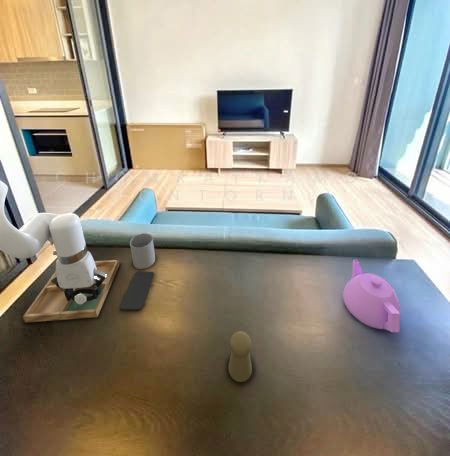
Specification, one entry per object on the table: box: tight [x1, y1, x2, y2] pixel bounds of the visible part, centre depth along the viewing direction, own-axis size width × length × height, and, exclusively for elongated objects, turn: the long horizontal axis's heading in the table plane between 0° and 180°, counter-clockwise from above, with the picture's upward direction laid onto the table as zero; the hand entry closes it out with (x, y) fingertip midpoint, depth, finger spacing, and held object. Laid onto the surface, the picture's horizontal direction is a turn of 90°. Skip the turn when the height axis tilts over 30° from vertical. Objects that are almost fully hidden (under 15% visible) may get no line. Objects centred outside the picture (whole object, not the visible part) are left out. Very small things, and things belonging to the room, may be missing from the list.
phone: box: [119, 270, 155, 312], centre depth 86 cm, size 7×1×15 cm
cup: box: [129, 232, 156, 270], centre depth 97 cm, size 8×8×10 cm
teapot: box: [342, 259, 402, 333], centre depth 77 cm, size 22×16×12 cm
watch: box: [71, 289, 94, 304], centre depth 81 cm, size 8×5×4 cm, turn 87°
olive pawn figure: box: [228, 330, 253, 383], centre depth 62 cm, size 6×6×11 cm
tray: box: [22, 259, 120, 323], centre depth 86 cm, size 21×21×2 cm
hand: (84, 296), depth 81 cm, fingers closed on watch, 7 cm apart
